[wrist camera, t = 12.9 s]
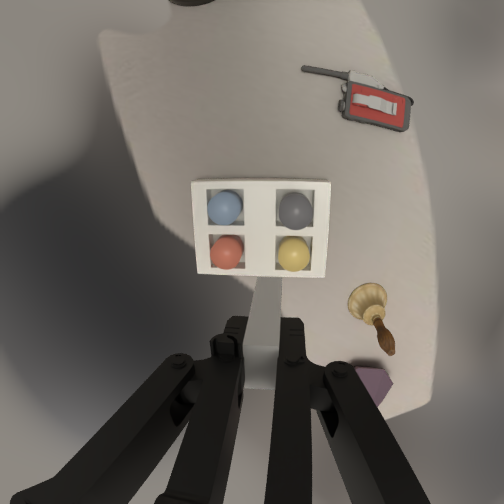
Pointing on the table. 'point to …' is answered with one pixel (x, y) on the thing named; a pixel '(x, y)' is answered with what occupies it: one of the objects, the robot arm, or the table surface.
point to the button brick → (227, 251)
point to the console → (261, 224)
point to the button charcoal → (295, 211)
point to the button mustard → (293, 253)
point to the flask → (375, 382)
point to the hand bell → (372, 312)
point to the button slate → (225, 207)
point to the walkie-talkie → (370, 100)
